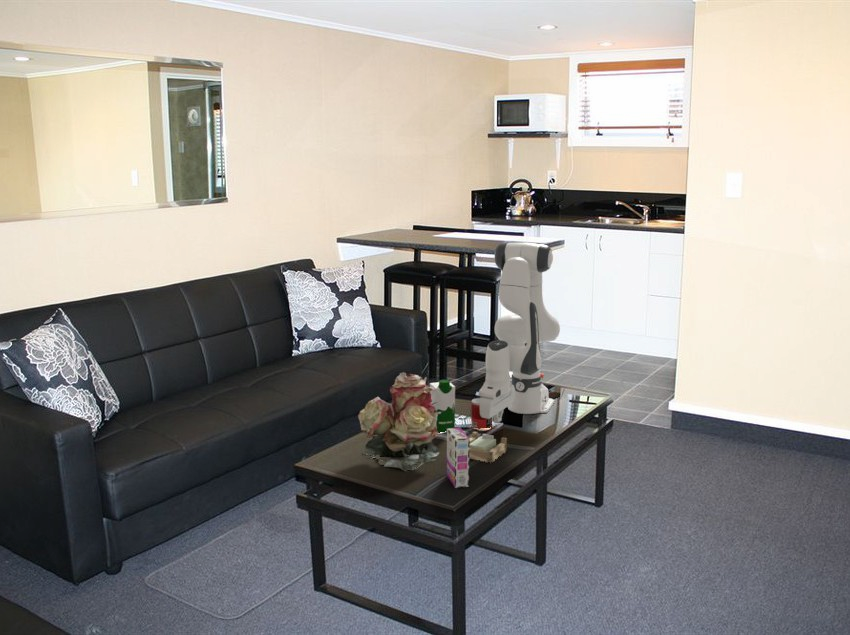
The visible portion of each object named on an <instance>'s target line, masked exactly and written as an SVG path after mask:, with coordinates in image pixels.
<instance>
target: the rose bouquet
mask: <svg viewBox="0 0 850 635" xmlns="http://www.w3.org/2000/svg"><path fill="white" fill-rule="evenodd" d="M427 380H428V377H427V376H425V377H424V378H423V377H421V376H419V374H418V375H417V374H412V373H406V372H404V371H403V372H400V373H399V375H398V376H396V378H395V379H394V384H393V385H392V386H390V387H389V392H390V395H391V399H392V400H391V402H390V403H389V402H386V401H385V400H383V399H381V398H380V397H379V396H377V397H374V398H373V399H371V400H369V401H368V402H367V403H366V404H365V407H364V408H363V409H361V410H360V411H359V413H358V414H357V418H358V420H359V425H360V428H361V429H360V432H361V433H364V434H367V436H366V437H367V438H371V439H370V440H368V441H367V443H366V444H365V446H364V450H363V455H365V454H366V455H369V454H372V455H373V454H374V455H375V456H376V455H381V456H392V455H393V456H392V457H394V458H389V457H382V458H379V460H380V459H381V460H383V461H385V462H386V464H385V465H384V466H383V467H385V468H386V467H387V468H388V467H390V468H397V469H401V470H402V471H404V472H405V473H407V472H406V471H405V470H408V469H412V470H411V471H414V470H416V469H418V468H420V467H421V466H423V465H425V464H427V463H430V462H435V461H437V459H436V458H435V459H433V458H434V457H437V456H439V454H440V452H439V449H438V447H437V445H435V444H434V443H433V439H435V438H436V437H437V436H438V435H439V434H438V433H439V432H438V431H437V427H436V421H437V416H438V412H437V411H436V409H435V407H434V406H432V405H434V404H436V403H437V402H435V403H432V404H431V402H432V401H433V400H432V398H431V392H430V391H432V390H433V391H434V388H433V387H432V388H431V387H430V385H427V383H426V382H427ZM422 451H423V453H421V452H422ZM412 452H413V453H412ZM415 452H416V453H420V454H414V453H415ZM411 453H412V454H411ZM389 454H391V455H389ZM413 454H414V455H413ZM366 455H365V456H366ZM400 455H401V456H400ZM407 455H409V456H407ZM395 456H396V457H395ZM371 457H372V456H371ZM399 457H401V458H399ZM373 458H375V457H372V458H371V459H373ZM416 463H421V464H420V465H419V466H418V467H417V468H416V467H412V466H413V465H417V464H416ZM414 468H415V469H414Z"/></svg>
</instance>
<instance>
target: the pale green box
mask: <svg viewBox="0 0 850 635" xmlns="http://www.w3.org/2000/svg"><path fill="white" fill-rule="evenodd" d="M494 437H495V436H494V435H492V434H488V433H482V435H481V436H478V439H476V440H475V441H473V442H472V443H470V445H469V447H472V448H477V449H481V450H486V451H490V450H491V449H493V448H494V447H496V446H497V439H496V438H494Z"/></svg>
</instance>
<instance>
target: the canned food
mask: <svg viewBox="0 0 850 635" xmlns="http://www.w3.org/2000/svg"><path fill="white" fill-rule="evenodd" d="M480 398H481V397H477V398H473V399H471V410H470V412H471V414H470V415H471V417H470V418H471V421H470V422H471V425H472V426H473V427H476V428H490V427H492V428H493V417H491V418H490V419H486V418H482V417H481V415H480ZM472 426H471V427H472Z"/></svg>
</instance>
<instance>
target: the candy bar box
mask: <svg viewBox="0 0 850 635" xmlns="http://www.w3.org/2000/svg"><path fill="white" fill-rule="evenodd" d="M469 445H470V437H469V436H468V435H467V434H466V433H465V431H464V430H463V429H462V428H461V427H455V428H449V429H447V433H446V477H447V478H448V479H449V480H450V482H451V483H452V485H453V487H454V488H455V489H462V488H461V487H463V488H469V487H470V458H469Z"/></svg>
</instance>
